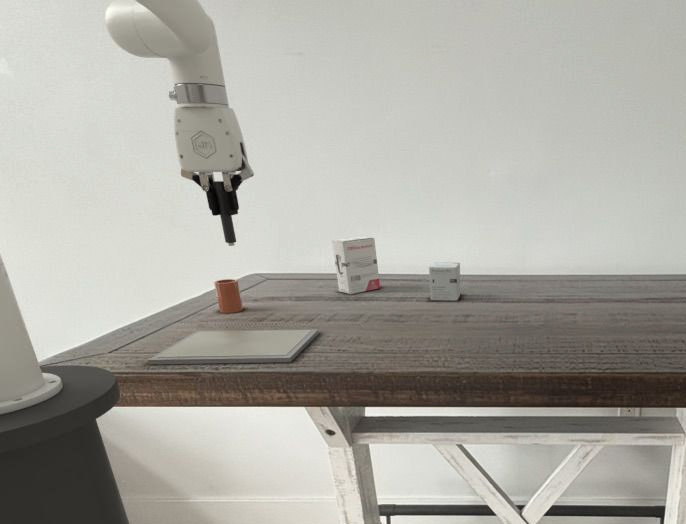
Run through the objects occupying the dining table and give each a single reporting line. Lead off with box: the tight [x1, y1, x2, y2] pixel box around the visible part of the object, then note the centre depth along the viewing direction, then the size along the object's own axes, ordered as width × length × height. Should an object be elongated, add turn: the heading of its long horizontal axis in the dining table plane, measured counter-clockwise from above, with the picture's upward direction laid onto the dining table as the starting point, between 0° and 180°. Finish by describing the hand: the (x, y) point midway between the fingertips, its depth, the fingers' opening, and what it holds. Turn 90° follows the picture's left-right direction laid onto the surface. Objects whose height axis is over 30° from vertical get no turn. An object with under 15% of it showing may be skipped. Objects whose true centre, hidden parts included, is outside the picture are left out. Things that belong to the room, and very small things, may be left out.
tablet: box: [147, 328, 320, 365], centre depth 90 cm, size 15×21×1 cm
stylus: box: [214, 180, 237, 247], centre depth 99 cm, size 2×2×11 cm
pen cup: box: [213, 278, 244, 314], centre depth 112 cm, size 4×4×6 cm
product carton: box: [428, 261, 461, 302], centre depth 121 cm, size 6×6×7 cm
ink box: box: [331, 236, 381, 295], centre depth 128 cm, size 9×5×12 cm, turn 139°
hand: (225, 213), depth 99 cm, fingers closed on stylus, 2 cm apart
